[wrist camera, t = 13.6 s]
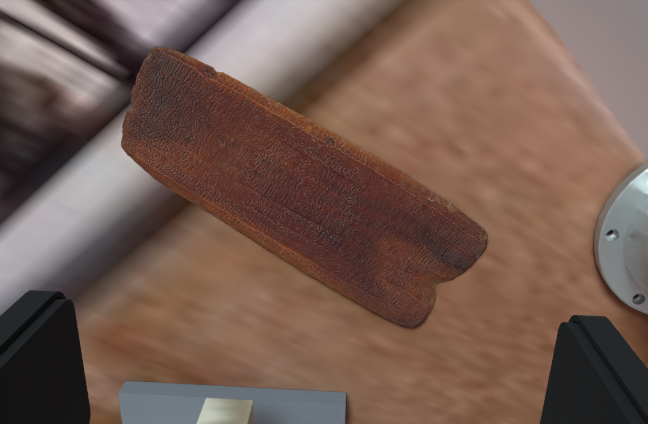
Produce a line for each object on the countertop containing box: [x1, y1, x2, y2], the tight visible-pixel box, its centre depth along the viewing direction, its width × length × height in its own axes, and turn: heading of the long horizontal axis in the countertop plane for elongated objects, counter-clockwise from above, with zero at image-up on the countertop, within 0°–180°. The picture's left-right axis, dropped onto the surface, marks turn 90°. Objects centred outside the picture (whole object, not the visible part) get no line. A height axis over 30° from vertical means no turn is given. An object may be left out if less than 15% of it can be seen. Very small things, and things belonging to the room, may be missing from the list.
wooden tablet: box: [121, 47, 488, 327], centre depth 39 cm, size 27×10×2 cm, turn 58°
